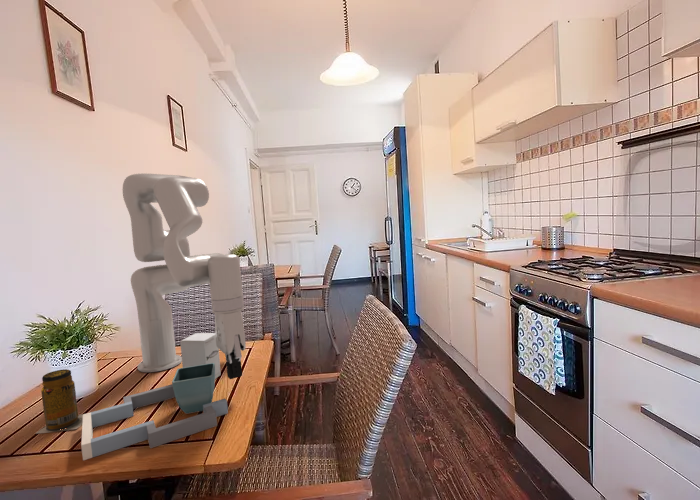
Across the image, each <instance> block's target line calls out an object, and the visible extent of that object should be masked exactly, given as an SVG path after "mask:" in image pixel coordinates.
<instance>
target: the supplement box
mask: <svg viewBox="0 0 700 500" xmlns="http://www.w3.org/2000/svg"><path fill="white" fill-rule="evenodd" d="M179 343H180V352H181V353H180V354H181V355H180V356H181V357H182V361H181V365H182V368H185V367H191V366H197V365H203V364H209V363H215V380H217V378H218V377H220V376H221V361H220V360H221V359H220V349H218V348H217V346H216V335H215V332H207V333H206V332H202V333H201V332H195V333H193V334H191V335H189V336H187V337H186V338H185V337H184V338H183V339H182V340H180V342H179Z"/></svg>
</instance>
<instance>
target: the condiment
mask: <svg viewBox="0 0 700 500" xmlns="http://www.w3.org/2000/svg"><path fill="white" fill-rule="evenodd" d="M41 381H42V386H43V387H42V389H41V400H42V409H43V416H44V417H43V418H44V425H45V426H43V427H42V428H41V429H39V430H38V431H37V432H35V434H36V435H37V434H45V433H49V434H50V433H55V432H56V433H57V432H60V431H61V432H64V431H69V430H78V428H80V427H82V423H83V414H79V411H78V402H77V395H76V393H77V392H76V385H75V381H74V380H73V375H72V370H70V369H68V368H67V369H59V370H53V371H51V372H47V373H46V374H44V375H43V376H42V378H41ZM65 428H67V429H65ZM60 429H61V430H60ZM62 429H63V430H62Z"/></svg>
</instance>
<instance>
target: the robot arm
mask: <svg viewBox="0 0 700 500" xmlns="http://www.w3.org/2000/svg"><path fill="white" fill-rule="evenodd" d="M121 190H122V197H123V201H124V205H125V206H126V209H127V211H128V213H129V214H128V215H129V217H130V225H131V235H132V244H133V246H132V247H133V253H134V257H135V258H136V260H137V261H139V262H142V263H152V262H160V261H161V262H162V261H164V262H165V264H158V265H157V264H156V265H152V266H151V265H149V266H144V267H141V268H139V269H137V270H135V271H134V272H133V273H132V274H131V276H130V284H131V289H132V292H133V295H134V299H135V304H136V309H137V310H136V311H137V319H138V326H139V327H138V328H139V329H138V330H139V337H140V347H141V357H142V361H141V362H140V363H138V364H137V370H138V371H139V372H141V373H156V372H161V371H166V370H169V369H171V368H174V367H177V366H178V365H180V364H182V355H179V354H177V351H176V342H175V331H174V330H175V329H174V320H173V310H172V307H171V305H170V304H169V303H168V301H166V300H165V298H164V297H163V296H166V295H169V294H175V293H181V292H184V291H187V289H189V288H190V287H195V286H200V285H201V286H202V285H206V284H209V292H210V299H211V301H210V303H211V310H212V311H211V312H212V314H214V333H215V335H216V346H217V348H218V349H219V351H221V353H223V354H224V357H225V361H226V362H225V363H226V364H225V366H226V374H227V375H226V376H227V378H228V379H229V380H233V379H237V378H239V377H240V378H241V377H242V376H243V369H242V358H243V357H242V352H243V351H245V350H246V347H247V346H246V335H245V334H246V333H245V326H244V320H243V319H244V318H242V316H243V313H242V311H243V310H244V309H245V305H244V304H245V303H244V301H245V300H244V295H243V293H244V292H243V281H242V273H241V272H242V271H241V261H240V258H239V256H238V255H237V254H233V253H228V254H227V253H226V254H223V253H218V252H217V253H216V252H215V253H206V254H197V255H196V254H195V255H191V253H190V244H189V240H188V238H189V236H191V235H193V234H195V233H196V232H197V231H198V230H200V228H201V227H202V225H203V218H202V216H201V214H200V212H199V210H198V208H200V207H201V208H202V207H205V206H206V205H207V204H208V203H209V202H208V201H209V199H210V192H209V191H210V190H209V189H208V186H207V184H206V183H205V182H204V181H203V180H202V179H201V178H196V177H190V176H186V175H179V174H177V175H176V174H161V173H134V174H131V175H128V176H126V177H125V179H124V180H123V184H122V189H121ZM153 203H154V204H155V203H157V204H158V206H159V208H160V210H161V212H162V214H163V216H162V214H161V212H160V211H159V210H158V208H156V206H155V205H154V204H153ZM163 217H164V219H165V221H166V223H167V226H168V227H169V229H167V230H164V228H163ZM187 237H188V238H187Z"/></svg>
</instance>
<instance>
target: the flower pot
mask: <svg viewBox="0 0 700 500" xmlns="http://www.w3.org/2000/svg"><path fill="white" fill-rule="evenodd" d="M171 383H172V385H173V389H174V393H175V397H174V398H175V401H176V403H177V405H178V407H179V408H180V409H181V411H182V412H184V413H185V414H186V415H187V414H193V413H199V412H203V405H205V404H208V403H211V402H213V399H214V391H215V385H216V384H215V383H216V379H215V363H209V364H203V365H197V366H191V367H185V368H183V367H180V368H177V369H176V371H175V375H174V376H173V379H172V380H171Z"/></svg>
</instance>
